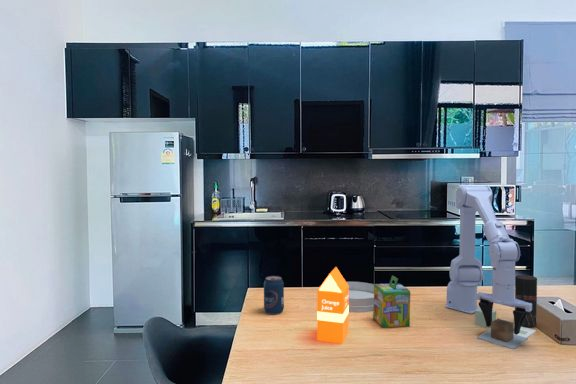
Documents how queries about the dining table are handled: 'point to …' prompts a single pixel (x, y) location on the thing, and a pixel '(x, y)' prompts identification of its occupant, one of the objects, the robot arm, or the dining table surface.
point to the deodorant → (527, 297)
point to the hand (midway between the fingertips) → (502, 329)
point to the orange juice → (333, 308)
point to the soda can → (273, 295)
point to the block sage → (481, 320)
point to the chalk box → (391, 304)
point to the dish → (361, 297)
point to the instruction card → (525, 332)
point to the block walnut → (502, 330)
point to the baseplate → (511, 344)
